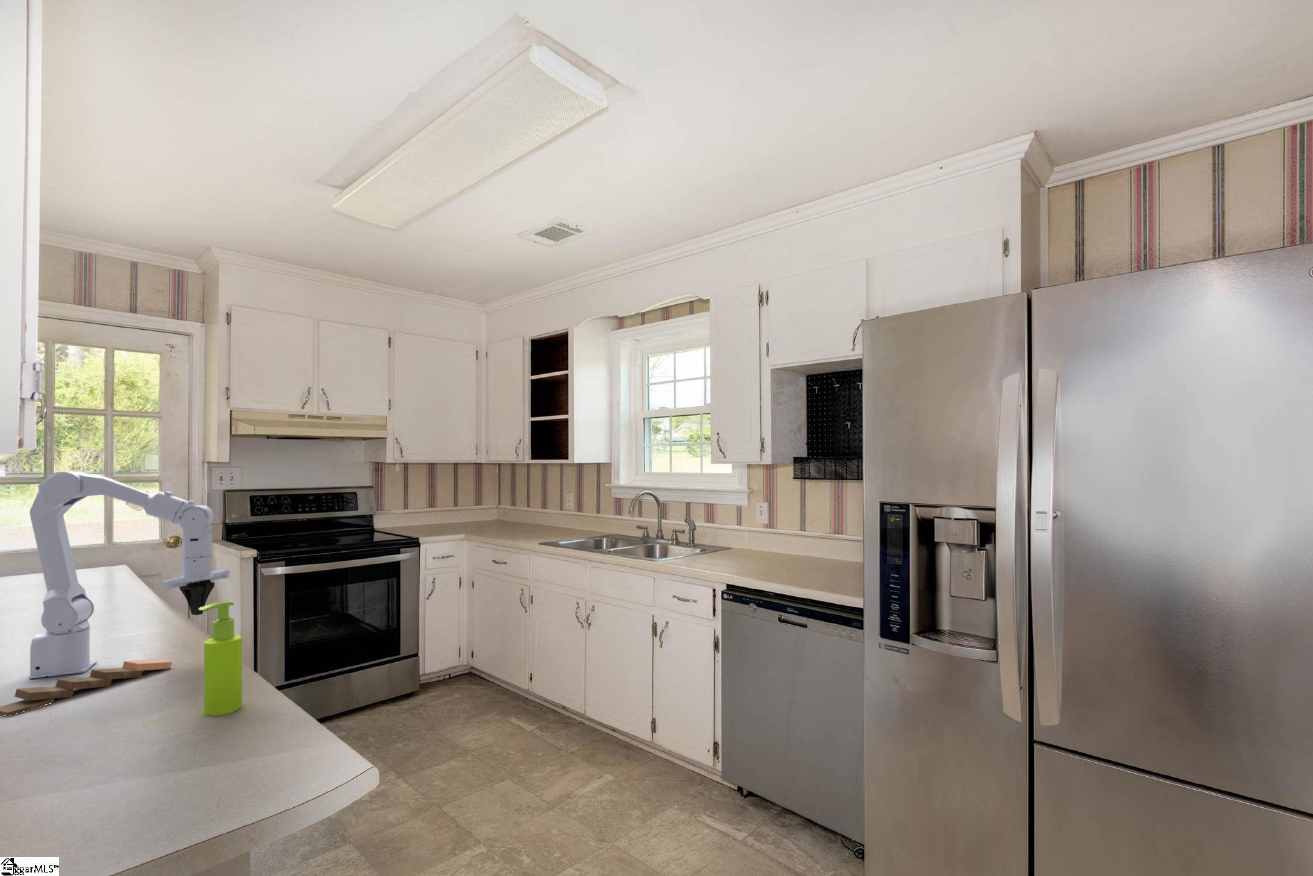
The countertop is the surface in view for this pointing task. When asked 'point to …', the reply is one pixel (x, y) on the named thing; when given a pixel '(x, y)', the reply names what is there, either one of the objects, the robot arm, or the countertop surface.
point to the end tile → (23, 706)
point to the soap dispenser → (222, 664)
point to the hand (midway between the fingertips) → (197, 614)
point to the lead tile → (147, 665)
